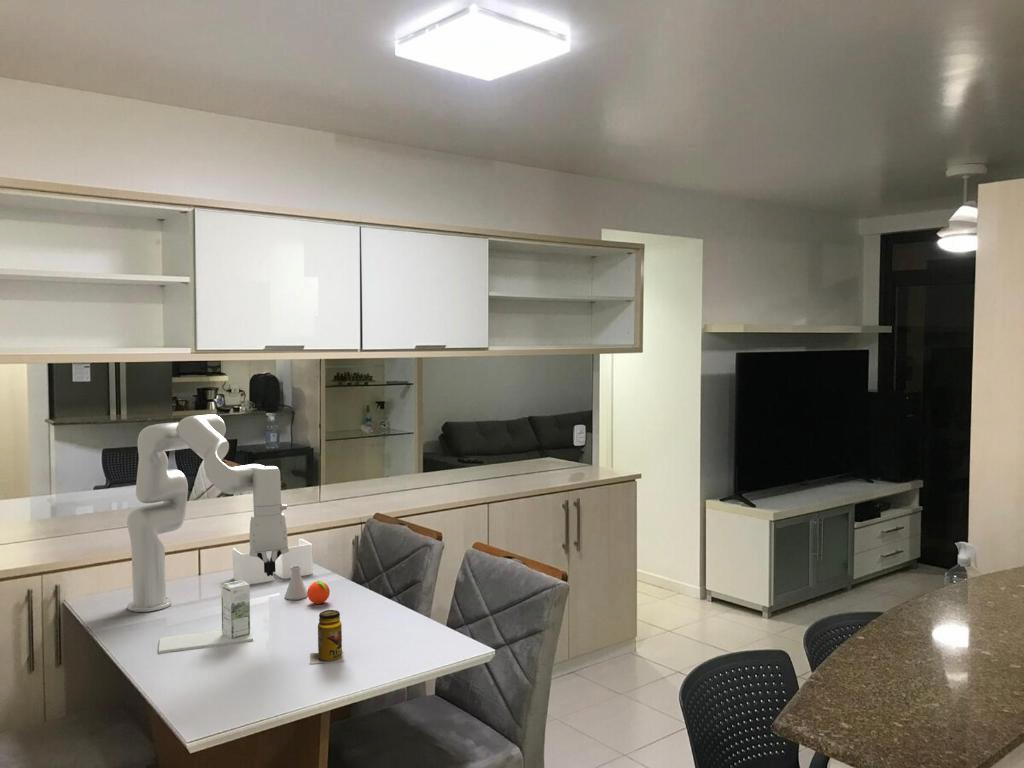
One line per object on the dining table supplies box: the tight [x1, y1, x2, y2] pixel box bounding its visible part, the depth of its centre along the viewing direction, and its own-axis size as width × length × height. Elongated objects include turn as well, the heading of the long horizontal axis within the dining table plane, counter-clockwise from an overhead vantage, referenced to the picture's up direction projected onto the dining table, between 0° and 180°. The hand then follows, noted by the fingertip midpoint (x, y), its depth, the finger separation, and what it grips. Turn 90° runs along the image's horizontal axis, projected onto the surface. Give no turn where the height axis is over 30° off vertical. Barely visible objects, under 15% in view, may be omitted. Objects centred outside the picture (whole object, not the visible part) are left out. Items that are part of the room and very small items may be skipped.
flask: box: [284, 566, 308, 601], centre depth 272 cm, size 7×7×10 cm
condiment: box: [309, 609, 345, 665], centre depth 218 cm, size 7×8×12 cm
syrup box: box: [220, 580, 251, 639], centre depth 235 cm, size 6×6×14 cm
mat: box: [158, 626, 254, 654], centre depth 232 cm, size 11×24×1 cm, turn 111°
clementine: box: [307, 580, 331, 605], centre depth 265 cm, size 8×7×7 cm
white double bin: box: [231, 538, 314, 585], centre depth 297 cm, size 25×11×11 cm, turn 124°
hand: (269, 574), depth 237 cm, fingers closed
